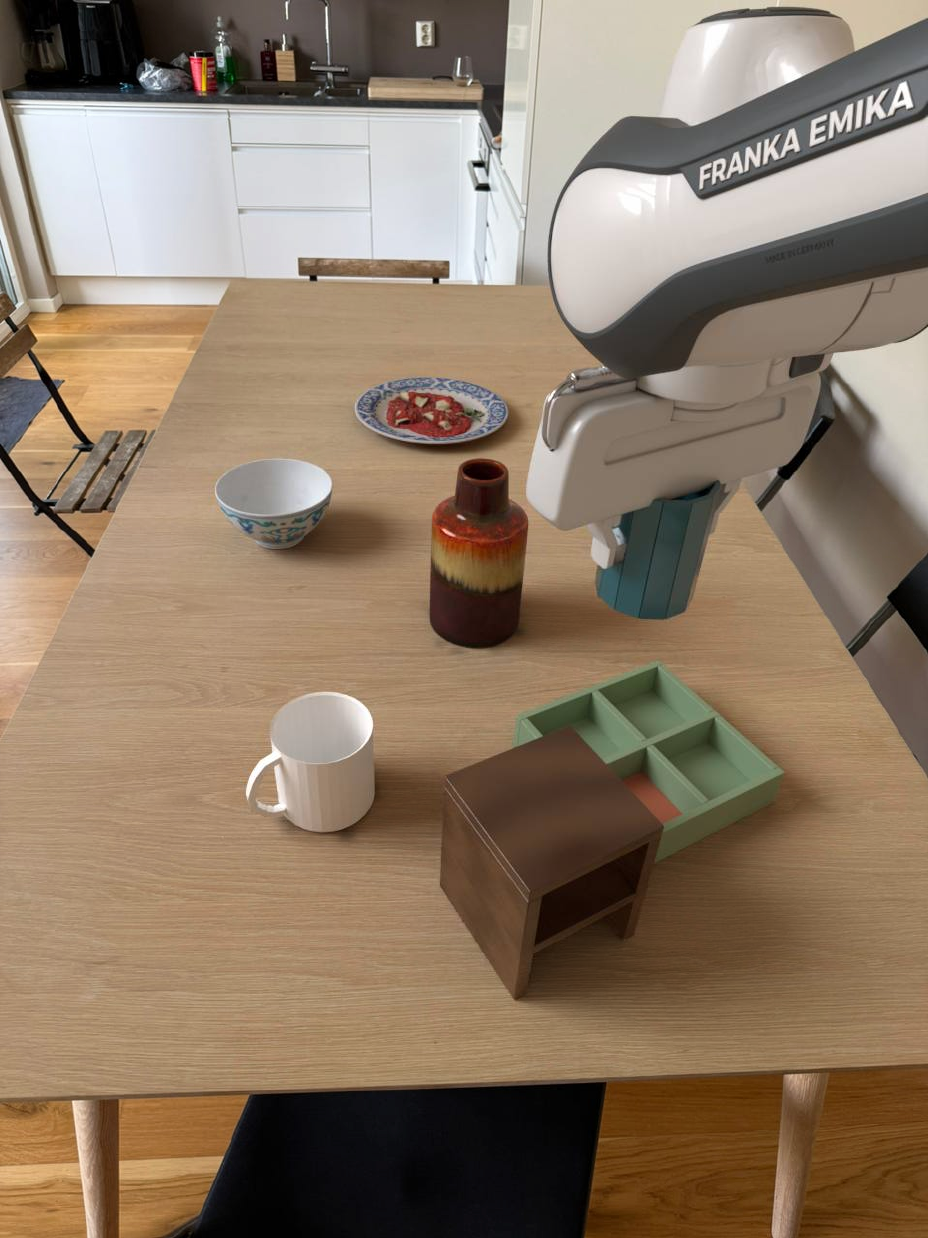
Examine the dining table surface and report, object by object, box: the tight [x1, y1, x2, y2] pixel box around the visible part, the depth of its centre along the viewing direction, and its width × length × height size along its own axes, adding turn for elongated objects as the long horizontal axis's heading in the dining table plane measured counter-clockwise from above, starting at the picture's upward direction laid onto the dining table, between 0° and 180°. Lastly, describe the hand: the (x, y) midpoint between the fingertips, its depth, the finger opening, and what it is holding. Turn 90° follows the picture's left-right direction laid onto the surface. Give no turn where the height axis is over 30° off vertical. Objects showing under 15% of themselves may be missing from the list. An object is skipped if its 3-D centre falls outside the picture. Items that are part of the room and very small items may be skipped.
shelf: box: [439, 725, 664, 1000], centre depth 71 cm, size 12×12×14 cm
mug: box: [245, 691, 376, 834], centre depth 81 cm, size 12×9×9 cm
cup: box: [594, 480, 721, 621], centre depth 59 cm, size 7×7×9 cm
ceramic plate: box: [354, 376, 509, 445], centre depth 150 cm, size 26×26×3 cm
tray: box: [512, 660, 786, 864], centre depth 87 cm, size 18×18×4 cm
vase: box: [429, 457, 529, 649], centre depth 101 cm, size 11×11×20 cm
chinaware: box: [214, 458, 334, 550], centre depth 118 cm, size 15×15×8 cm
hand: (653, 546), depth 60 cm, fingers closed on cup, 6 cm apart
